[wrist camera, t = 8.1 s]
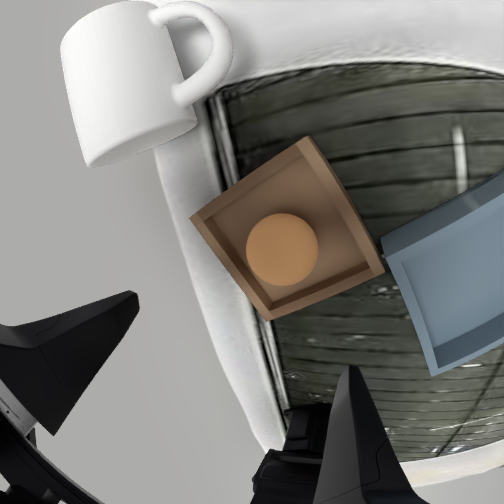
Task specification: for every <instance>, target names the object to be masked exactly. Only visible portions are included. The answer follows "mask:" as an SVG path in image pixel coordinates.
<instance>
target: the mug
mask: <svg viewBox="0 0 504 504" xmlns="http://www.w3.org/2000/svg"><path fill="white" fill-rule="evenodd" d="M185 17H192V18H196V19H198V20H200V21H201V22H202V23H203V24H204V25H205V26H206V28H207V29H208V31H209V33H210V36H211V39H212V51H211V54H210V56H209V58H208V59H207V61H206V62H205V64H204V65H203V66H202V67H201V68H200V69H199V70H198V71H197V72H196V73H195V74H193V75H192V76H191V77H189V78H188V79H187V80H185V81H184V78H183V75H182V72H181V69H180V66H179V63H178V59H177V56H176V53H175V50H174V47H173V44H172V41H171V38H170V35H169V32H168V29H167V25H166V24H168V23H170V22H172V21H174V20H177V19H180V18H185ZM60 52H61V59H62V66H63V72H64V78H65V83H66V88H67V93H68V98H69V103H70V107H71V112H72V116H73V120H74V124H75V127H76V132H77V135H78V139H79V142H80V146H81V149H82V152H83V156H84V159H85V162H86V165H87V166H88V167H91V168H96V167H101V166H105V165H109V164H112V163H115V162H118V161H121V160H123V159H126V158H129V157H132V156H134V155H137V154H139V153H142V152H144V151H147V150H149V149H152V148H154V147H157V146H159V145H161V144H164V143H166V142H168V141H170V140H173V139H175V138H177V137H179V136H181V135H183V134H185V133H186V132H188V131H190V130H191V129H193V128H194V127H195V126H196V125H197V122H198V120H197V117H196V114H195V111H194V108H193V105H192V103H194V102H196V101H197V100H199V99H201V98H202V97H204V96H205V95H207V94H208V93H209V92H210V91H212V90H213V89H214V88H215V87H216V86H217V85H218V84H219V83H220V82H221V81H222V80H223V78H224V77H225V76H226V74H227V72H228V70H229V68H230V66H231V63H232V58H233V44H232V39H231V35H230V33H229V31H228V29H227V27H226V25H225V23H224V22H223V20H222V19H221V18H220V17H219V16H218V15H217V14H216V13H215V12H214V11H213V10H212V9H210V8H209V7H207V6H205V5H203V4H200V3H197V2H192V1H178V2H173V3H169V4H166V5H163V6H161V7H159V8H158V7H157V6H156V5H154V4H151V3H148V2H144V1H124V2H118V3H114V4H110V5H107V6H104V7H102V8H99V9H97V10H95V11H93V12H91V13H90V14H88V15H86V16H85V17H83V18H82V19H80V20H79V21H78V22H77V23H75V24H74V25H73V26H72V27H71V28H70V29H69V31H68V32H67V33H66V35H65V37H64V38H63V40H62V43H61V47H60Z"/></svg>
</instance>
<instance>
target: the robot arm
mask: <svg viewBox="0 0 504 504" xmlns="http://www.w3.org/2000/svg"><path fill="white" fill-rule="evenodd" d="M139 309H140V307H139V300H138V295H137V293H135V292H132V291H130V290H128V291H125V292H122V293H119V294H116V295H113V296H110V297H108V298H105V299H102V300H99V301H96V302H93V303H90V304H87V305H84V306H81V307H78V308H75V309H73V310H70V311H67V312H64V313H62V314H58V315H55V316H52V317H49V318H46V319H42V320H39V321H35V322H31V323H26V324H23V325H18V326H5V325H2V324H0V473H1V474H2V475H3V477H4V478H5V479H6V480H7V482H8V483H9V484H10V486H9V488H8V489H7V490H6V492H3V491H1V490H0V504H58V503H59V501H60V500H61V501H63V502H65V503H66V504H104V503H103V502H101V501H100V500H98V499H97V498H96V497H94V496H93V495H91V494H90V493H88V492H87V491H86V490H84V489H83V488H81V487H80V486H79V485H78V484H77V483H75V482H74V481H73V480H71V479H70V478H69V477H68V476H66V475H65V474H64V473H63V472H62V471H61V470H59V469H58V468H57V467H56V466H55V465H54V464H53V463H52V462H50V461H49V460H48V459H47V458H46V457H45V456H44V455H43V454H42V453H41V452H40V451H39V450H38V449H37V446H36V437H35V428H34V426H35V424H36V423H37V422H39V423H40V424H41V425H42V426H43V427H44V428H45V429H46V430H47V431H48V432H49V433H50V434H51V435H53V436H54V435H55V434H56V433H57V431H58V430H59V428H60V427H61V425H62V423H63V422H64V420H65V419H66V417H67V416H68V414H69V413H70V411H71V410H72V408H73V407H74V406H75V404H76V402H77V401H78V399H79V398H80V397H81V395H82V394H83V392H84V390H85V389H86V388H87V387H88V385H89V384H90V382H91V381H92V380H93V378H94V377H95V375H96V374H97V373H98V371H99V370H100V368H101V367H102V366H103V364H104V363H105V362H106V360H107V359H108V357H109V356H110V355H111V353H112V352H113V351H114V349H115V348H116V347H117V345H118V344H119V343H120V341H121V340H122V338H123V337H124V335H125V334H126V332H127V330H128V329H129V327H130V325H131V324H132V322H133V321H134V318H135V317H136V316H137V314H138V312H139ZM283 415H284V416H285V417H286V418H287V419H289V420H290V423H289V427H288V430H287V433H286V437H285V438H286V440H285V444H284V447H283V450H282V451H277V450H274V449H269V451H268V453H267V454H266V455H265V457H264V459H263V461H262V463H261V465H260V466H259V468H258V470H257V472H256V474H255V475H254V476H253V478H252V482H253V492H254V493H255V494H254V496H253V499H252V501H251V503H250V504H429V503H427V502H426V501H424V500H423V499H421V498H420V497H419V496H418V495H417V494H416V493H415V492H414V491H413V489H412V487H411V485H410V483H409V481H408V479H407V477H406V475H405V474H404V472H403V470H402V468H401V466H400V464H399V462H398V460H397V458H396V456H395V453H394V451H393V448H392V446H391V443H390V441H389V438H387V437H388V436H387V433H386V431H385V428H384V426H383V423H382V421H381V418H380V416H379V413H378V411H377V409H376V406H375V404H374V401H373V399H372V397H371V394H370V392H369V390H368V387H367V385H366V383H365V380H364V378H363V376H362V373H361V371H360V369H359V367H358V366H355V365H351V364H349V365H347V367H346V368H345V370H344V371H343V373H342V374H341V376H340V378H339V381H338V385H337V390H336V394H335V398H334V402H333V405H331V404H329V403H325V404H320V405H314V406H309V407H303V408H297V409H290V410H285V411H284V413H283Z"/></svg>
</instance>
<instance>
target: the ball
mask: <svg viewBox="0 0 504 504" xmlns="http://www.w3.org/2000/svg"><path fill="white" fill-rule="evenodd" d="M318 251H319V248H318V241H317V238H316V235H315V233H314V231H313V230H312V228H311V227H310V226H309V225H308V224H307V223H306V222H305V221H304V220H303V219H301V218H299V217H297V216H295V215H292V214H285V213H279V214H273V215H270V216H267V217H266V218H264V219H262V220H261V221H259V222H258V223H257V224H256V225H255V226H254V228H253V229H252V231H251V232H250V234H249V237H248V240H247V244H246V255H247V260H248V263H249V265H250V267H251V269H252V270H253V272H254V273H255V274H256V275H257V276H258V277H259V278H260V279H262V280H263V281H265V282H267V283H269V284H272V285H277V286H288V285H293V284H295V283H298V282H300V281H302V280H303V279H304V278H306V277H307V276H308V275H309V274H310V272H311V271H312V270H313V268H314V266H315V264H316V262H317V258H318Z"/></svg>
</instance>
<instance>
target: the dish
mask: <svg viewBox="0 0 504 504" xmlns="http://www.w3.org/2000/svg"><path fill="white" fill-rule="evenodd" d="M380 241H381V244H382V248H383V251H384V255H385V259H386V261H387V263H388V265H389V267H390V269H391V271H392V274H393V276H394V278H395V280H396V282H397V285H398V287H399V289H400V292H401V294H402V296H403V299H404V301H405V304H406V306H407V309H408V311H409V314H410V316H411V319H412V321H413V324H414V327H415V329H416V332H417V335H418V337H419V340H420V343H421V346H422V349H423V352H424V355H425V358H426V361H427V364H428V367H429V371H430V374H431V377H432V376H435V375H437V374H440V373H442V372H445V371H447V370H449V369H452V368H454V367H456V366H459V365H461V364H463V363H465V362H467V361H469V360H471V359H473V358H475V357H477V356H479V355H481V354H483V353H485V352H487V351H489V350H491V349H493V348H495V347H496V346H498V345H500V344H502V343H503V342H504V169H502V170H501V171H499V172H497V173H496V174H494V175H492V176H491V177H489V178H487V179H486V180H484V181H482V182H481V183H479V184H477V185H475V186H474V187H472V188H470V189H468V190H467V191H465V192H463V193H462V194H460V195H458V196H456V197H454V198H453V199H451V200H449V201H447V202H446V203H444V204H442V205H440V206H438V207H436V208H435V209H433V210H431V211H429V212H427V213H425V214H424V215H422V216H420V217H418V218H416V219H414V220H412V221H410V222H409V223H407V224H405V225H403V226H401V227H399V228H397V229H395V230H393V231H391V232H389V233H387V234H385V235H383V236H382V237H380Z"/></svg>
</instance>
